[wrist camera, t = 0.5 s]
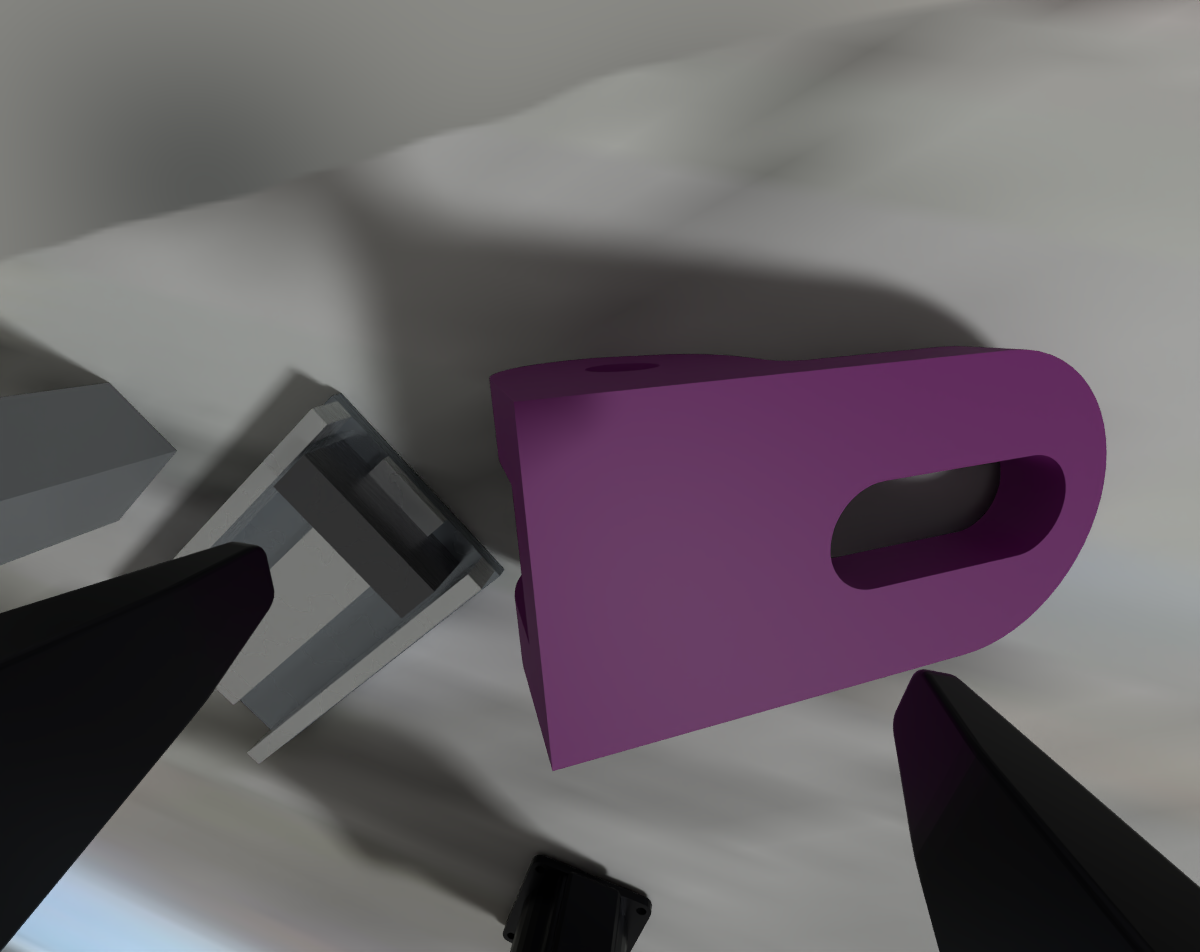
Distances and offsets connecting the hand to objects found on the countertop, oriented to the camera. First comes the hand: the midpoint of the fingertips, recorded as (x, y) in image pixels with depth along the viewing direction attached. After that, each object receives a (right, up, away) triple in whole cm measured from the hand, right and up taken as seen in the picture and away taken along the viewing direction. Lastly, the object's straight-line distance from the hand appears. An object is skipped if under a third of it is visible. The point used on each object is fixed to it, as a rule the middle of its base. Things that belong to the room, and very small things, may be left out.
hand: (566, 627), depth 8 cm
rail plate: (-13, -3, +18) cm, 23 cm away
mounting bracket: (+8, +2, +14) cm, 16 cm away
